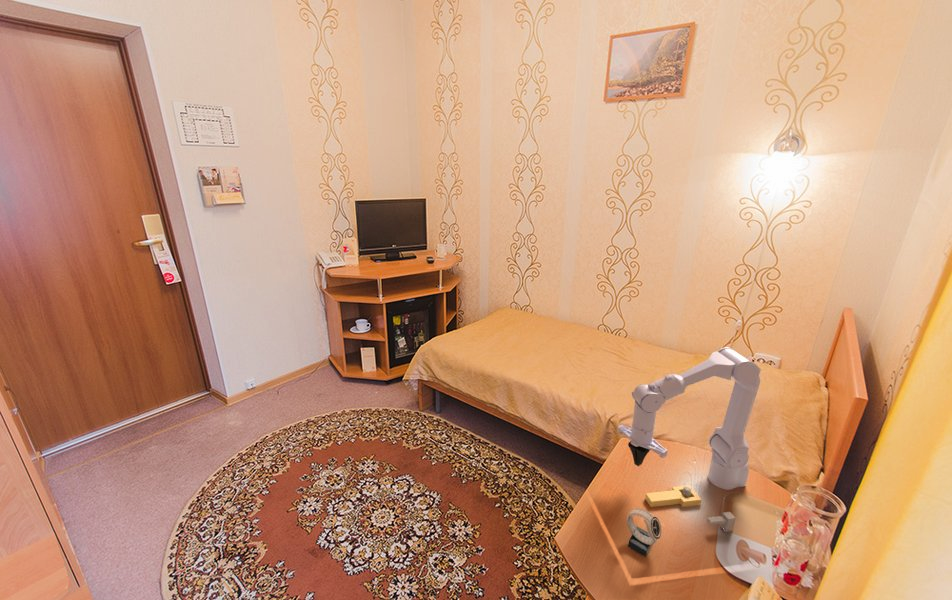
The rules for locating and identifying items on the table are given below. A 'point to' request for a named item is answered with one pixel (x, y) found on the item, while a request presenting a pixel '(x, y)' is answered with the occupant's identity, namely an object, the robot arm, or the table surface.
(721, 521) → the pintle board
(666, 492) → the link
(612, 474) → the table surface
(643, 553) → the watch
